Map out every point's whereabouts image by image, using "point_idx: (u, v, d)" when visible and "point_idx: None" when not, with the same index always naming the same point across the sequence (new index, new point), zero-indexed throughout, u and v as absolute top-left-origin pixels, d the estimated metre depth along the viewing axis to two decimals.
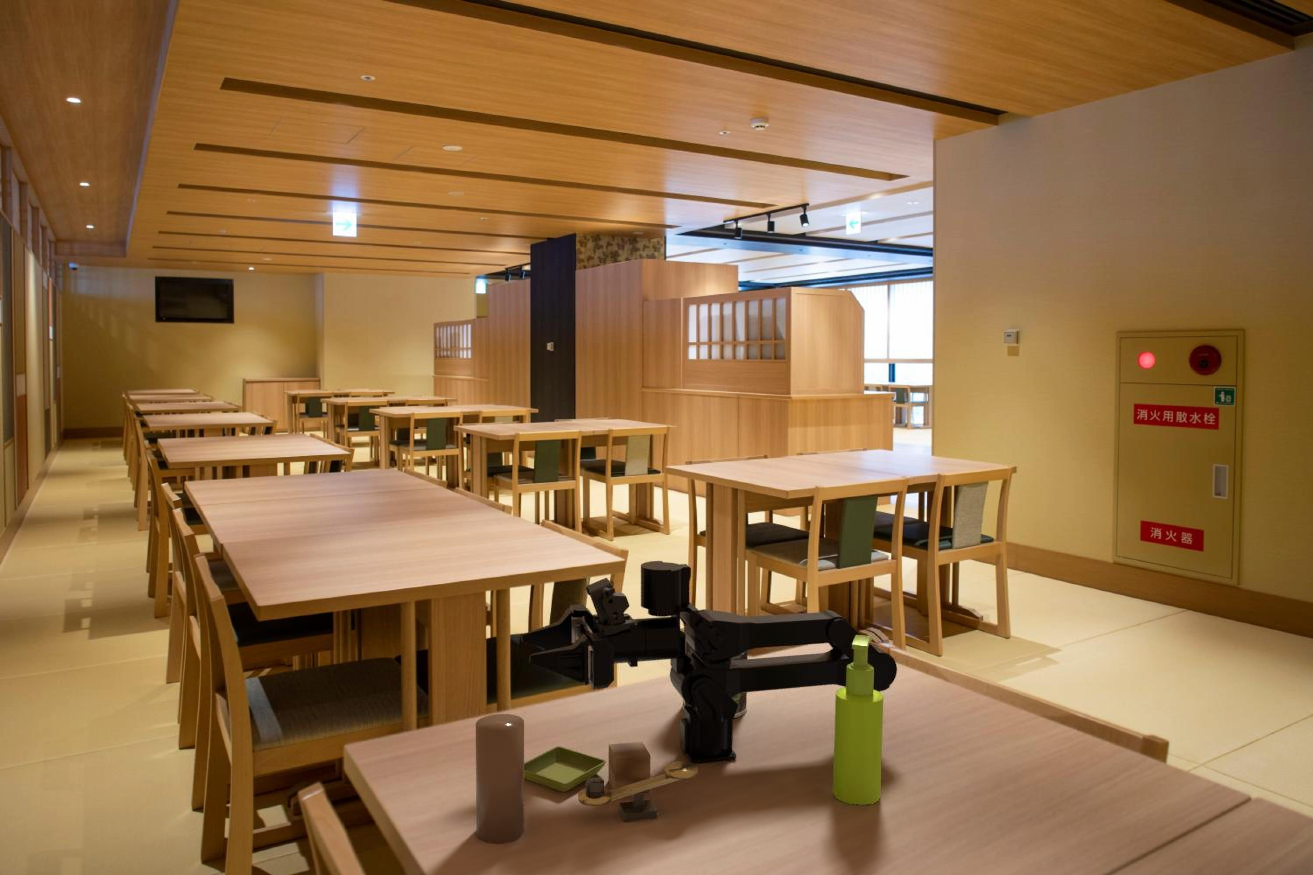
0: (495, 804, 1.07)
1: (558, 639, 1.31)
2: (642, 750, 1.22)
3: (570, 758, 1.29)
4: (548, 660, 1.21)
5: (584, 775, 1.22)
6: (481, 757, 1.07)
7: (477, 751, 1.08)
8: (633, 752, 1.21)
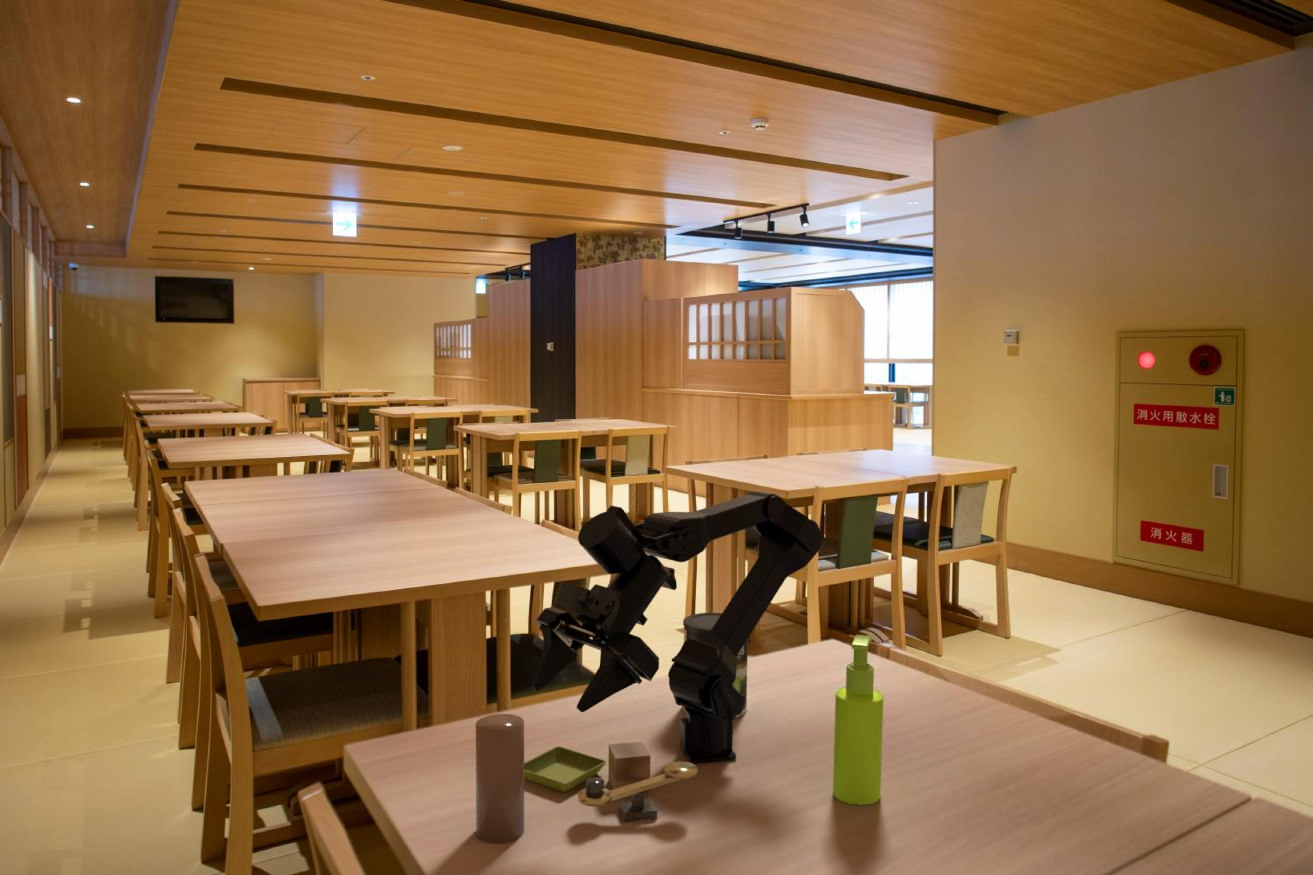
0: (495, 804, 1.07)
1: (560, 657, 1.21)
2: (642, 750, 1.22)
3: (570, 758, 1.29)
4: (595, 696, 1.12)
5: (584, 775, 1.22)
6: (481, 757, 1.07)
7: (477, 751, 1.08)
8: (633, 752, 1.21)
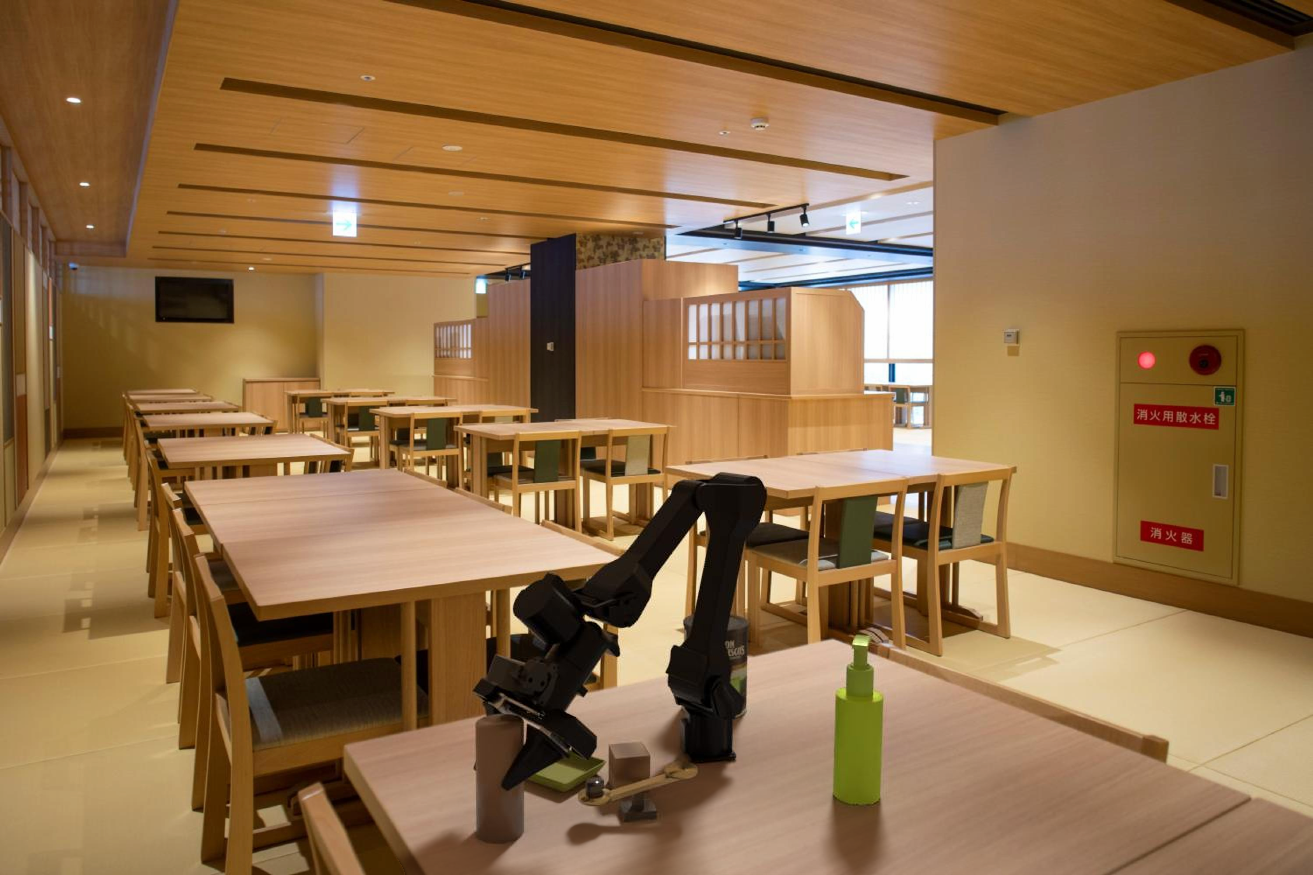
0: (495, 804, 1.07)
1: None
2: (642, 750, 1.22)
3: (570, 758, 1.29)
4: (520, 773, 1.07)
5: (584, 775, 1.22)
6: (481, 758, 1.07)
7: (477, 751, 1.08)
8: (633, 752, 1.21)
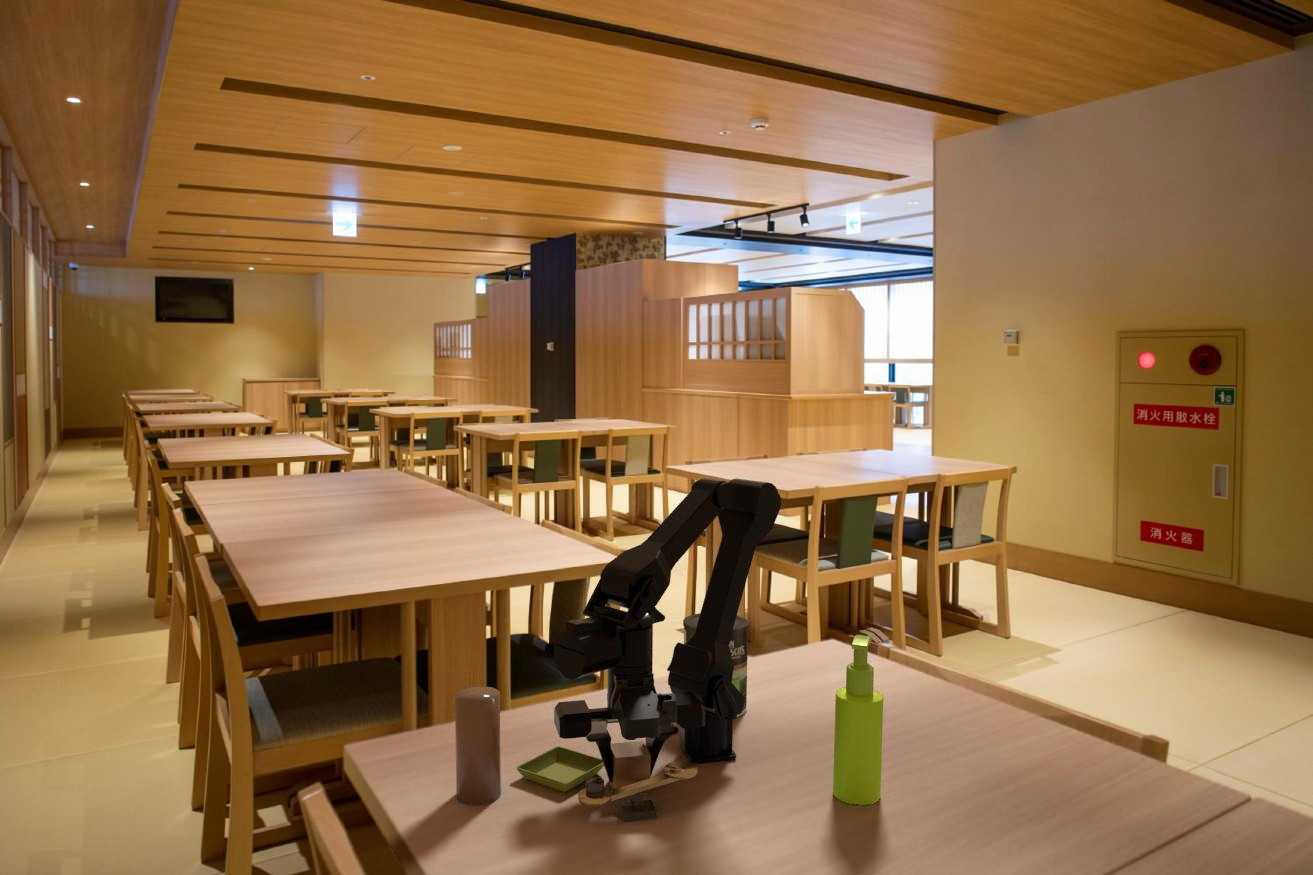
0: (473, 768, 1.16)
1: None
2: (642, 750, 1.22)
3: (570, 758, 1.29)
4: None
5: (584, 775, 1.22)
6: (460, 726, 1.17)
7: (456, 720, 1.17)
8: (634, 752, 1.21)
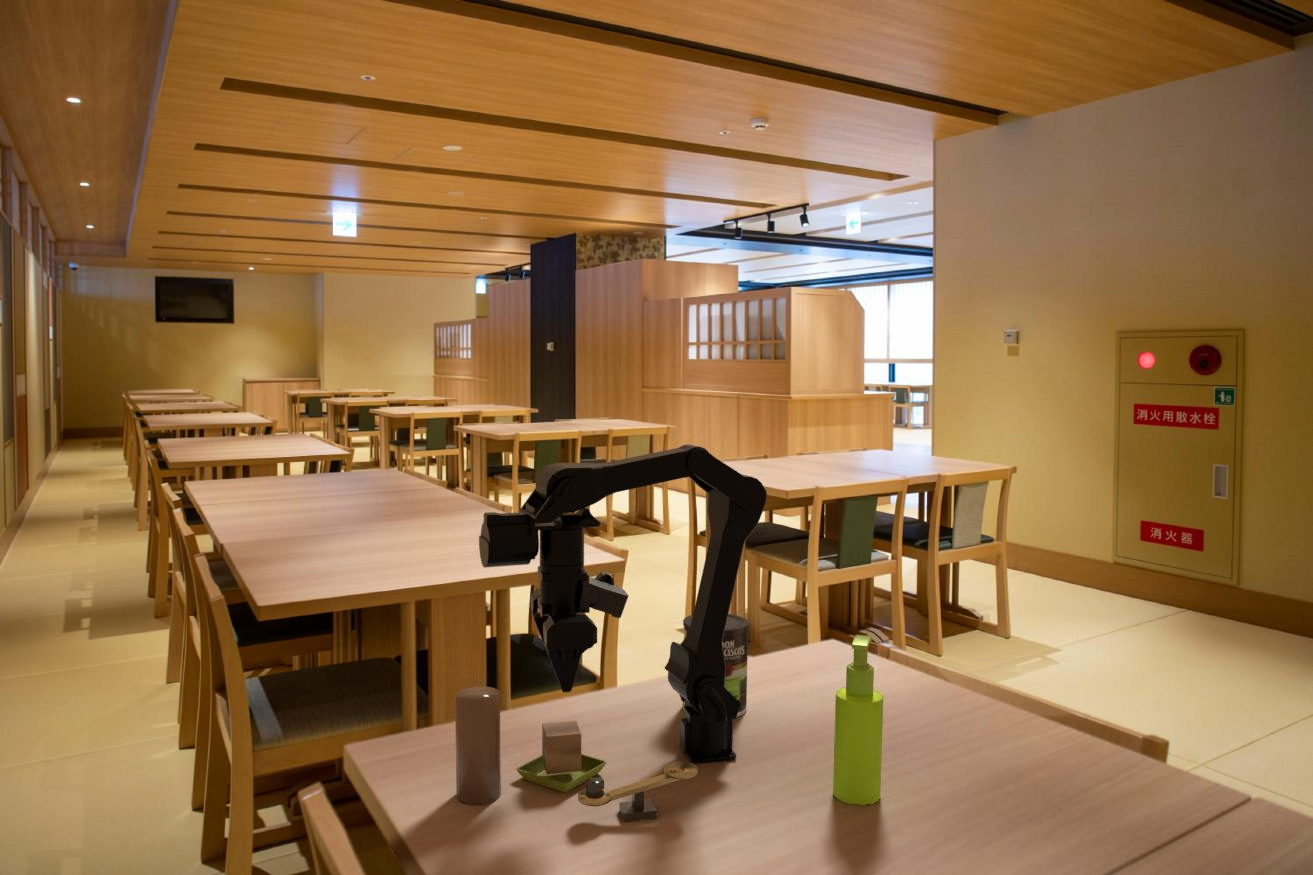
0: (473, 768, 1.16)
1: None
2: (564, 723, 1.26)
3: None
4: None
5: (584, 776, 1.22)
6: (460, 726, 1.17)
7: (456, 720, 1.17)
8: (569, 726, 1.25)
